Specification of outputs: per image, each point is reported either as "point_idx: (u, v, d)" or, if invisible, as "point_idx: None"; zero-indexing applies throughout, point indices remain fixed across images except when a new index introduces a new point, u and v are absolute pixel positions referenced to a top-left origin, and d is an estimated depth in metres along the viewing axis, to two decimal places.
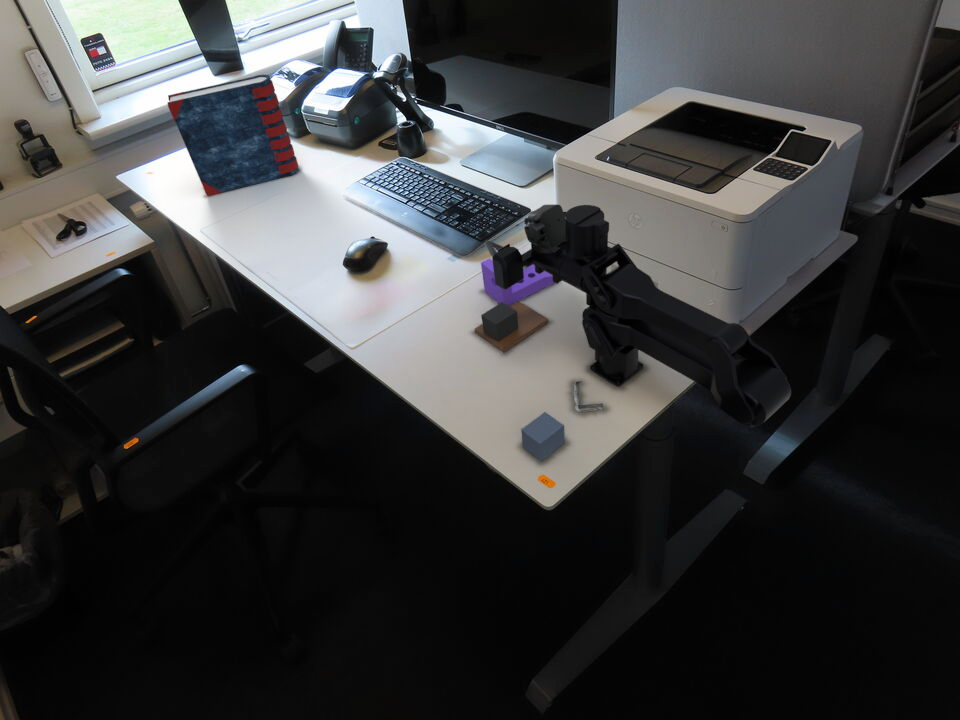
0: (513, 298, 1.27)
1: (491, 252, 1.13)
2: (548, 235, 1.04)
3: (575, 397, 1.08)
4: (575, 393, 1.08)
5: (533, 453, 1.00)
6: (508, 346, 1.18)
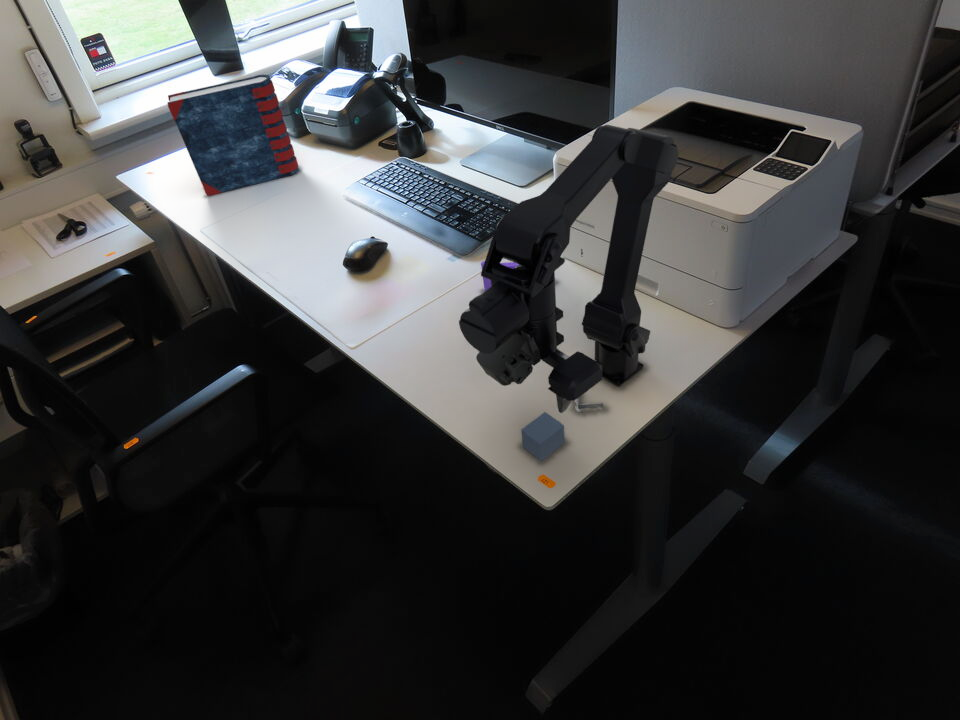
0: None
1: (569, 400, 0.89)
2: (514, 352, 0.83)
3: None
4: None
5: (533, 453, 1.00)
6: None
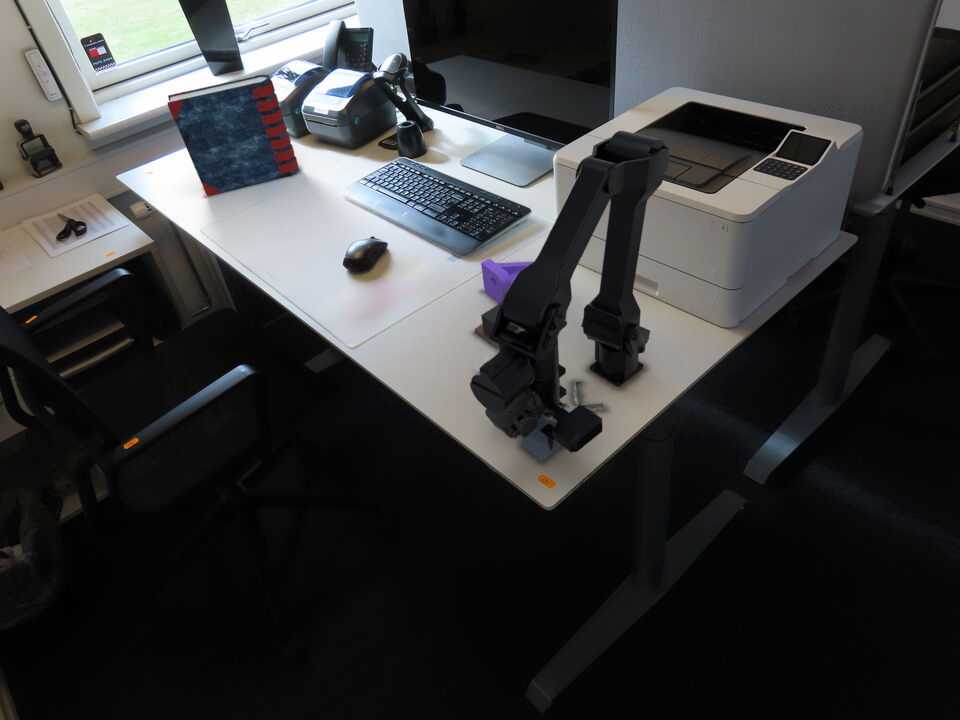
0: None
1: None
2: (521, 407, 0.89)
3: (575, 397, 1.08)
4: (575, 393, 1.08)
5: (533, 453, 1.00)
6: None
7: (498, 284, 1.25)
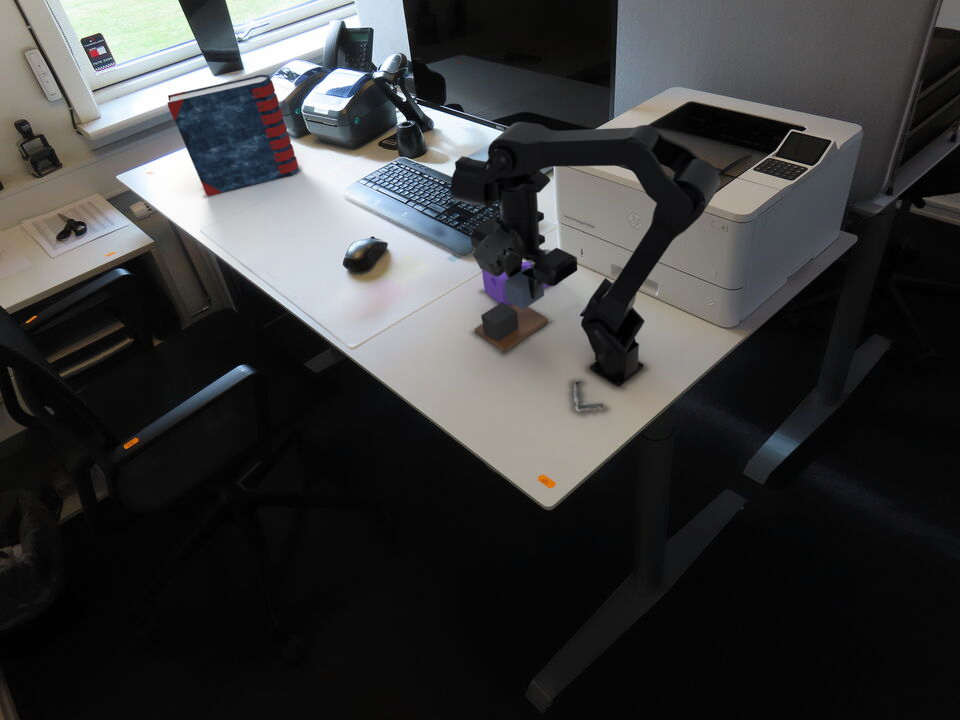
0: None
1: (539, 287, 1.08)
2: (504, 246, 1.00)
3: (575, 397, 1.08)
4: (575, 393, 1.08)
5: (516, 303, 1.10)
6: (508, 346, 1.18)
7: (498, 284, 1.25)
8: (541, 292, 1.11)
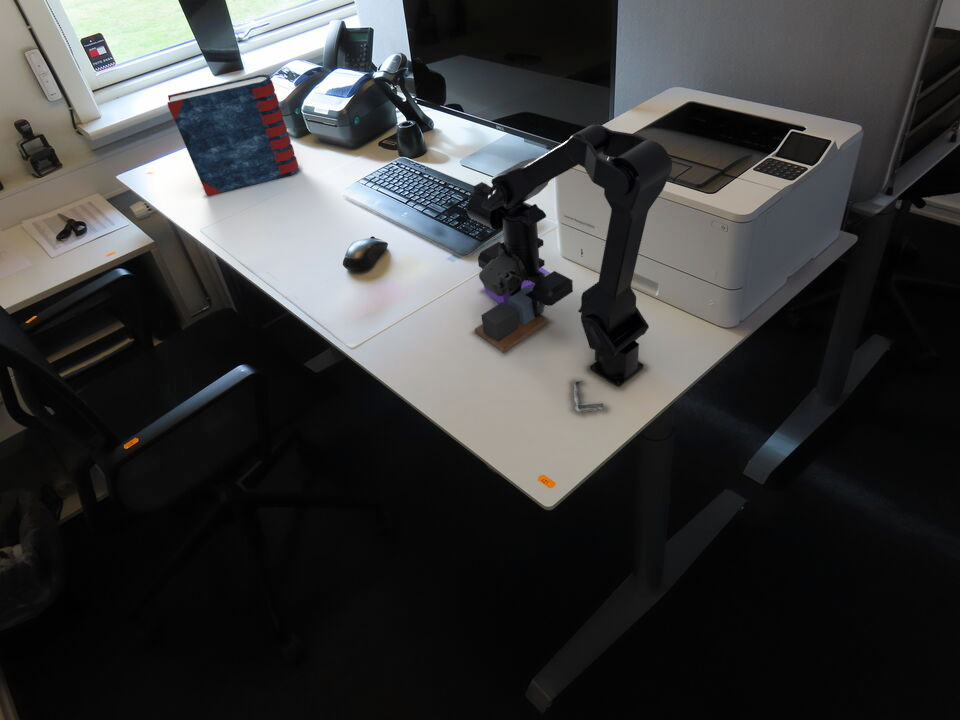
0: None
1: (542, 307, 1.19)
2: (507, 270, 1.11)
3: (575, 397, 1.08)
4: (575, 393, 1.08)
5: (518, 319, 1.22)
6: (508, 346, 1.18)
7: None
8: None
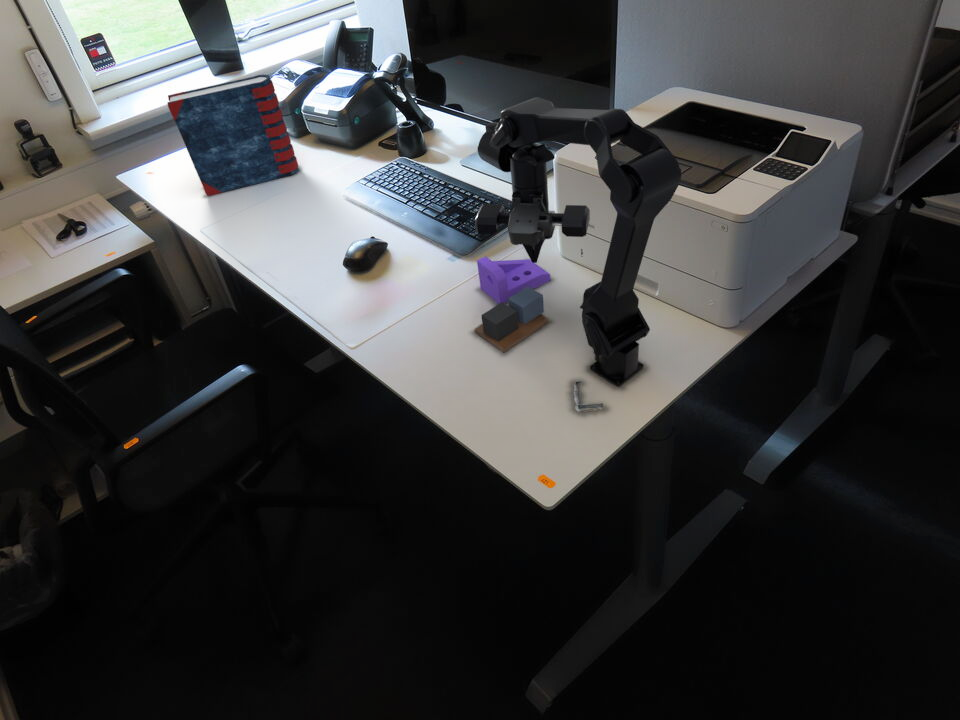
0: (508, 296, 1.28)
1: None
2: (535, 214, 1.06)
3: (575, 397, 1.08)
4: (575, 393, 1.08)
5: (518, 319, 1.22)
6: (508, 346, 1.18)
7: (494, 282, 1.25)
8: (541, 309, 1.22)
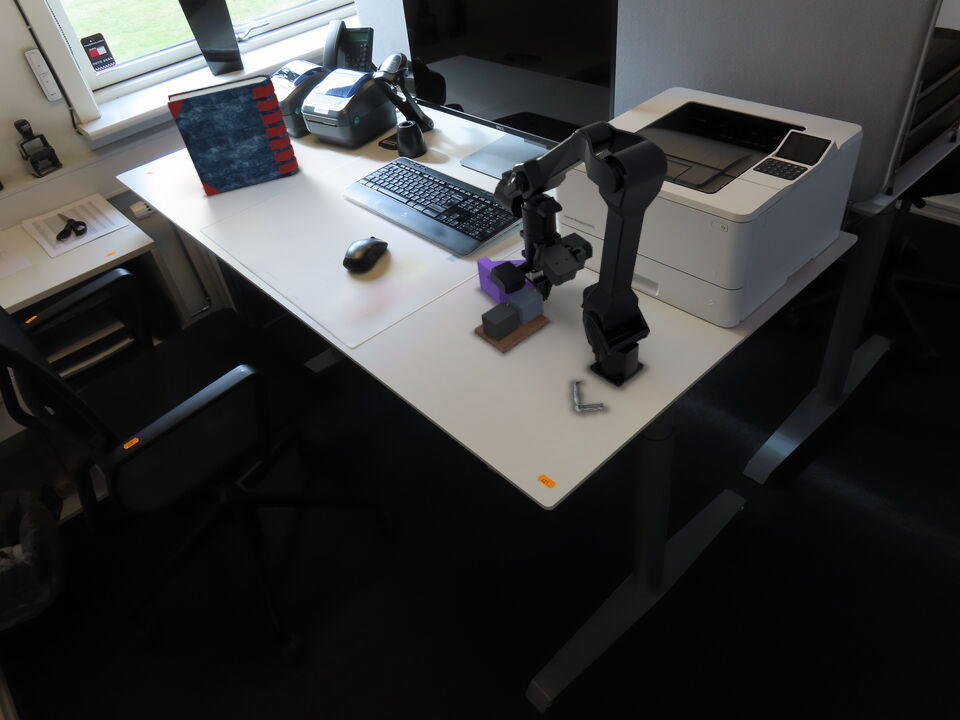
0: (508, 296, 1.28)
1: None
2: (565, 252, 1.14)
3: (575, 397, 1.08)
4: (575, 393, 1.08)
5: None
6: (508, 346, 1.18)
7: None
8: (541, 309, 1.22)
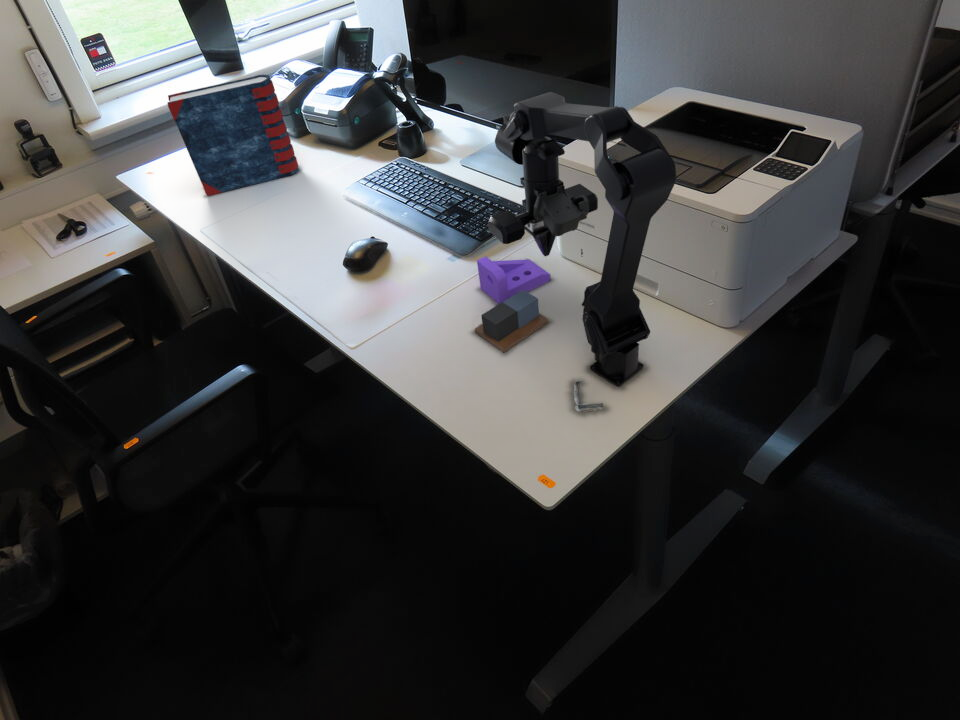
0: (508, 296, 1.28)
1: None
2: (567, 200, 1.08)
3: (575, 397, 1.08)
4: (575, 393, 1.08)
5: None
6: (508, 346, 1.18)
7: (494, 282, 1.25)
8: (536, 312, 1.22)
